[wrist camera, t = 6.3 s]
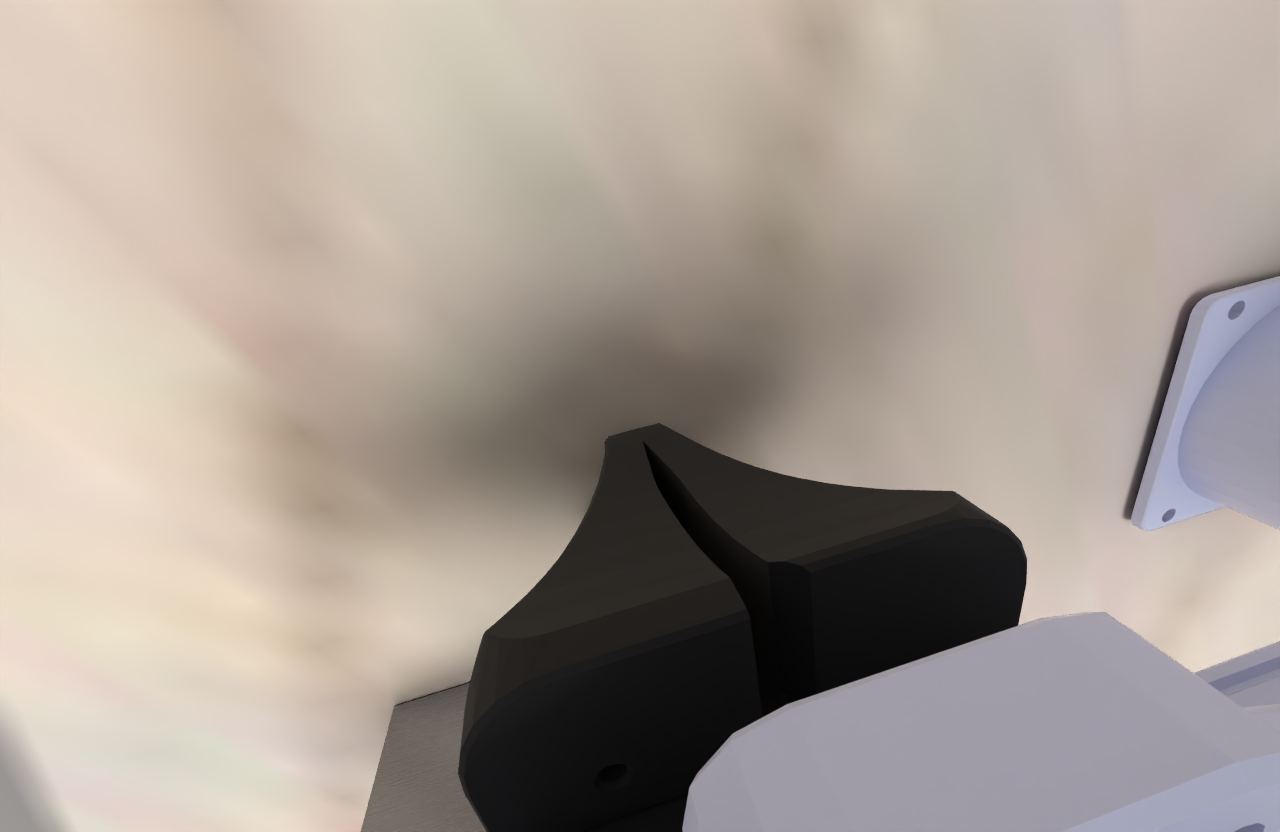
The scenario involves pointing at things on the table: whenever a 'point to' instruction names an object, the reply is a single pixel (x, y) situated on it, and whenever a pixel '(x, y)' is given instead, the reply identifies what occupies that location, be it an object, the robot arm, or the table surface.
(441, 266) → the table surface
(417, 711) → the housing
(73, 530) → the table surface
